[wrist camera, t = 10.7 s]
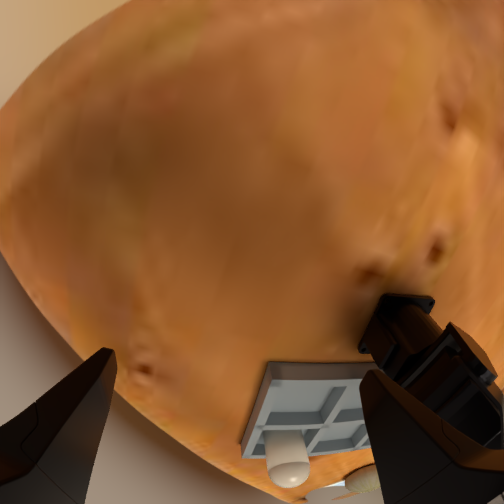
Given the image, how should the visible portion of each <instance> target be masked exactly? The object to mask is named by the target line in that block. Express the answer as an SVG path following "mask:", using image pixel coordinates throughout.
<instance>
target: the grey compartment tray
mask: <svg viewBox="0 0 504 504" xmlns="http://www.w3.org/2000/svg"><path fill="white" fill-rule="evenodd" d="M370 369H379V368H378V366H377V365H376V363H286V362H269V363H268V366H267V369H266V372H265V375H264V378H263V381H262V384H261V387H260V390H259V393H258V396H257V399H256V402H255V405H254V408H253V411H252V414H251V417H250V420H249V423H248V425H247V428H246V431H245V434H244V437H243V439H242V442H241V455H242V458H266V453H265V446H264V438H263V432H264V430H300V429H302V433H303V437H304V442H305V446H306V450H307V455H308V456H316V455H325V454H334V453H341V452H348V451H354V450H360V449H366V448H371V445H370V441H369V437H368V434H367V430H366V426H365V422H364V417H363V410H362V404H361V398H360V392H359V385H360V382H361V381H362V379H363V377H364V376H365V374H366V372H367V371H368V370H370ZM379 370H380V369H379ZM380 371H382V372H383V370H380ZM383 373H384V372H383Z"/></svg>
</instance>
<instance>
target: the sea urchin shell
mask: <svg viewBox="0 0 504 504" xmlns="http://www.w3.org/2000/svg"><path fill="white" fill-rule="evenodd" d="M345 487H346V488H347V489H348V490H349V491H351V492H357V493H361V492H362V493H363V492H369V491H372V490H375V489H377V488H379V487H380V482H379V478H378V473H377V469H376V465H375V464H374V465H370V466H367V467H362V468H360V469H358V470H357V471H355V472H353V473H352V474H351V475H349V476H348V477H347V478H346V480H345Z"/></svg>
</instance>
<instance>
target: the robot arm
mask: <svg viewBox="0 0 504 504" xmlns="http://www.w3.org/2000/svg"><path fill="white" fill-rule="evenodd" d="M387 298H388V299H387ZM386 299H387V300H386ZM385 300H386V301H385ZM434 304H435V300H434V299H433V298H432V297H425V296H413V295H401V294H390V293H386V294H383V295H382V297H381V298H380V301H379V303H378V305H377V307H376V310H375V312H374V314H373V316H372V319H371V321H370V323H369V325H368V327H367V329H366V332H365V334H364V336H363V338H362V340H361V342H360V344H359V346H358V351H359V353H361V354H371V355H372V357H373V359H374V361H375V363H376V365H377V366H378V368H379V369H380V370H383V372H384V373H383V372H382V371H380V370H379V369H370V370H368V371H367V372H366V374H365V376H364V377H363V379H362V381H361V382H360V385H359V392H360V398H361V404H362V410H363V417H364V422H365V426H366V430H367V434H368V437H369V441H370V445H371V449H372V453H373V457H374V461H375V465H376V469H377V473H378V478H379V482H380V486H381V490H382V495H383V500H384V504H504V395H503V393H502V391H501V390H500V389H499V387H498V386H497V385H496V384H495V382H494V380H495V379H496V378H497V377H498V375H497V373H496V371H495V369H494V367H493V365H492V364H491V362H490V360H489V358H488V356H487V354H486V353H485V351H484V350H483V349H482V348H481V347H480V346H479V345H478V344H477V343H476V341H475V340H474V339H473V338H472V337H471V336H470V335H468V334H467V333H465V332H464V331H463V330H461V329H460V328H458V327H457V326H456V325H454V324H453V323H451V322H449V323H448V325H447V326H446V329H445V330H444V331H443V330H442V329H441V328H440V327H439V326H438V325H437V323H436V322H435V321H434V320H433V319H432V318H431V316H430V315H429V314H430V312H431V310H432V308H433V306H434ZM116 374H117V362H116V356H115V351H114V350H113V349H109V348H105V347H103V348H101V349H100V350H98V351H97V352H96V353H95V354H93V355H92V356H91V357H90V358H88V359H87V360H86V361H84V362H83V363H82V364H81V365H79V366H78V367H77V368H76V369H74V370H73V371H72V372H71V373H69V374H68V375H67V376H66V377H65V378H63V379H62V380H61V381H60V382H58V383H57V384H56V385H55V386H53V387H52V388H51V389H50V390H48V391H47V392H46V393H45V394H43V395H42V396H41V397H40V398H39V399H37V400H36V403H35V402H34V403H33V404H31V405H30V406H29V407H28V408H26V409H25V410H24V411H22V412H21V413H20V414H19V415H17V416H16V417H14V418H13V419H11V420H10V421H8V422H7V423H5V424H4V425H2V426H0V504H84V503H85V499H86V494H87V489H88V485H89V481H90V477H91V473H92V469H93V465H94V461H95V458H96V454H97V450H98V447H99V443H100V440H101V436H102V433H103V429H104V426H105V423H106V419H107V416H108V413H109V409H110V404H111V399H112V394H113V389H114V384H115V379H116Z"/></svg>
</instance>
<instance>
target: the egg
mask: <svg viewBox="0 0 504 504" xmlns="http://www.w3.org/2000/svg"><path fill="white" fill-rule="evenodd" d="M263 438H264V446H265V453H266V461H267V468H268V475H269V477H270V479H271V480H272V482H273V483H275V484H276V485H278V486H280V487H284V488H293V487H296V486H299V485H301V484H302V483H303V482H304V481H305V480H306V479H307V478H308V476H309V473H310V463H309V459H308V455H307V450H306V446H305V442H304V437H303V433H302V429H300V430H264V432H263Z"/></svg>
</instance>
